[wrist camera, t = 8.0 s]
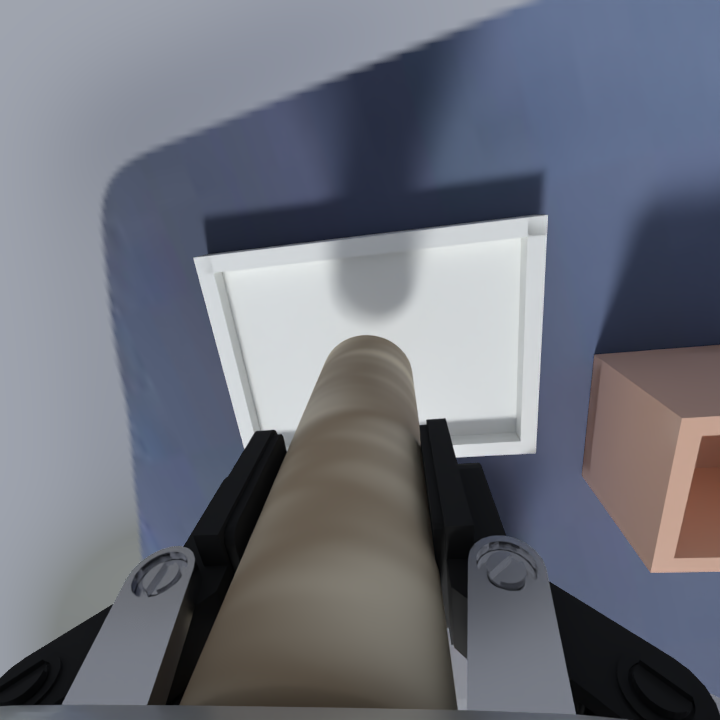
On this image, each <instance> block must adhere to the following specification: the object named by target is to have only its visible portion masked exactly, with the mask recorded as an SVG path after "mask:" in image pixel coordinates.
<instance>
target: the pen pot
mask: <svg viewBox="0 0 720 720" xmlns="http://www.w3.org/2000/svg"><path fill="white" fill-rule="evenodd" d="M582 476H583V478H584V479H585V481H586V482H587V483H588V485H589V486H590V488H591V489H592V491H593V492H594V493H595V495H596V496H597V498H598V499H599V500H600V502H601V503H602V505H603V506H604V508H605V509H606V510H607V512H608V513H609V515H610V516H611V517H612V519H613V520H614V522H615V523H616V525H617V526H618V527H619V529H620V530H621V532H622V533H623V534H624V536H625V537H626V539H627V540H628V541H629V543H630V544H631V546H632V547H633V549H634V550H635V551H636V553H637V554H638V556H639V557H640V558H641V560H642V561H643V563H644V564H645V566H646V567H647V568H648V570H649V571H650V573H661V572H720V345H710V346H697V347H685V348H672V349H659V350H647V351H634V352H621V353H609V354H596V355H594V363H593V373H592V383H591V392H590V402H589V411H588V421H587V431H586V440H585V450H584V459H583V469H582Z"/></svg>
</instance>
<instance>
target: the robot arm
mask: <svg viewBox="0 0 720 720" xmlns="http://www.w3.org/2000/svg"><path fill="white" fill-rule="evenodd" d="M419 428H420V442H421V452H422V460H423V468H424V475H425V483H426V491H427V499H428V506H429V514H430V522H431V530H432V538H433V545H434V553H435V561H436V564H437V567H438V569H439V574H440V581H441V588H442V595H443V603H444V610H445V617H446V625H447V628H449V633H450V640H451V645H454V648H455V649H456V650H457V651H458V652H459V653H461V654H462V655H463V656H464V657H465V658H466V659H467V710H429V709H381V708H329V707H265V706H191V705H180V702H181V700H182V698H183V695H184V693H185V690H186V688H187V686H188V683H189V681H190V679H191V676H192V674H193V672H194V669H195V667H196V665H197V662H198V660H199V658H200V655H201V653H202V650H203V648H204V646H205V643H206V641H207V639H208V636H209V634H210V632H211V629H212V627H213V625H214V622H215V620H216V618H217V615H218V613H219V610H220V608H221V606H222V603H223V601H224V599H225V596H226V594H227V592H228V589H229V587H230V585H231V582H232V580H233V578H234V575H235V573H236V570H237V568H238V566H239V563H240V561H241V559H242V556H243V554H244V552H245V549H246V547H247V545H248V542H249V540H250V538H251V535H252V533H253V530H254V528H255V526H256V523H257V521H258V519H259V516H260V514H261V512H262V509H263V507H264V505H265V502H266V500H267V498H268V495H269V493H270V490H271V488H272V486H273V483H274V481H275V479H276V476H277V474H278V472H279V469H280V467H281V465H282V462H283V460H284V458H285V455H286V453H287V450H286V446H285V441H284V437H283V435H282V434H277V432H276V430H263V431H256V432H255V433H254V434H253V436H252V438H251V439H250V441H249V443H248V444H247V446H246V448H245V449H244V451H243V453H242V454H241V456H240V458H239V459H238V461H237V463H236V464H235V466H234V468H233V469H232V471H231V473H230V474H229V476H228V477H227V478H225V480H224V481H223V482H222V484H221V485H220V487H219V489H218V490H217V492H216V494H215V495H214V497H213V499H212V500H211V502H210V504H209V505H208V507H207V509H206V510H205V512H204V514H203V515H202V517H201V518H200V520H199V522H198V523H197V525H196V527H195V528H194V530H193V532H192V533H191V535H190V537H189V538H188V540H187V542H186V543H185V545H184V547H182V546H174V547H169V548H165V549H162V550H159V551H157V552H155V553H153V554H151V555H150V556H148V557H147V558H145V559H144V560H143V561H141V562H140V563H139V564H138V565H137V566H136V567H135V568H134V569H133V570H132V571H131V573H130V574H129V576H128V577H127V579H126V581H125V582H124V585H123V586H122V588H121V590H120V592H119V594H118V596H117V598H116V600H115V602H114V604H112V605H111V606H109V607H107V608H106V609H104V610H102V611H101V612H99V613H98V614H96V615H94V616H93V617H91V618H89V619H88V620H86V621H85V622H83V623H81V624H80V625H78V626H76V627H75V628H73V629H71V630H70V631H68V632H67V633H65V634H63V635H62V636H60V637H58V638H57V639H55V640H54V641H52V642H50V643H49V644H47V645H45V646H44V647H42V648H41V649H39V650H37V651H36V652H34V653H32V654H31V655H29V656H28V657H26V658H24V659H23V660H22V661H20V662H19V663H17V664H16V665H15V666H13V667H12V668H11V669H10V670H8V671H7V672H6V673H5V674H4V675H3V676H2V677H1V678H0V720H720V698H718V697H716V696H714V695H712V694H710V693H709V692H708V690H707V689H706V687H705V686H704V685H703V684H702V683H701V682H700V681H699V679H698V678H697V677H696V676H695V675H694V674H693V673H692V672H691V671H690V670H689V669H687V668H686V667H685V666H683V665H682V664H681V663H679V662H678V661H676V660H675V659H674V658H672V657H671V656H669V655H667V654H666V653H664V652H663V651H661V650H659V649H658V648H656V647H655V646H653V645H651V644H650V643H648V642H646V641H645V640H643V639H642V638H640V637H638V636H637V635H635V634H633V633H632V632H630V631H629V630H627V629H625V628H624V627H622V626H620V625H619V624H617V623H616V622H614V621H612V620H611V619H609V618H608V617H606V616H604V615H603V614H601V613H599V612H598V611H596V610H595V609H593V608H591V607H590V606H588V605H586V604H585V603H583V602H582V601H580V600H578V599H577V598H575V597H574V596H572V595H570V594H569V593H567V592H565V591H564V590H562V589H561V588H559V587H557V586H556V585H554V584H552V583H551V582H549V579H548V574H547V570H546V567H545V564H544V562H543V559H542V558H541V557H540V556H539V554H538V553H537V552H536V551H535V550H534V549H533V548H532V547H530V546H529V545H528V544H526V543H524V542H522V541H520V540H518V539H516V538H512V537H508V536H506V534H505V532H504V529H503V526H502V523H501V520H500V517H499V515H498V512H497V509H496V506H495V503H494V500H493V498H492V495H491V492H490V489H489V486H488V483H487V480H486V478H485V475H484V472H483V469H482V467H481V464H480V463H466V464H458V463H457V460H456V456H455V452H454V448H453V444H452V441H451V437H450V433H449V429H448V425H447V421H446V418H441V419H426V425H419Z"/></svg>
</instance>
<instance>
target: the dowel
mask: <svg viewBox="0 0 720 720" xmlns="http://www.w3.org/2000/svg"><path fill="white" fill-rule="evenodd" d="M180 705H191V706H265V707H329V708H381V709H429V710H458V706H457V699H456V691H455V684H454V677H453V669H452V662H451V654H450V647H449V640H448V632H447V625H446V617H445V610H444V603H443V595H442V588H441V581H440V574H439V569H438V567H437V564H436V561H435V553H434V545H433V538H432V530H431V522H430V514H429V506H428V499H427V491H426V483H425V475H424V468H423V460H422V452H421V442H420V428H419V418H418V411H417V403H416V396H415V389H414V381H413V374H412V368H411V365H410V362H409V360H408V358H407V356H406V355H405V353H404V352H403V351H402V350H401V349H400V348H399V347H398V346H397V345H395V344H394V343H393V342H391V341H389V340H387V339H385V338H382V337H378V336H373V335H360V336H355V337H351V338H349V339H347V340H344V341H343V342H341V343H340V344H338V345H337V346H336V347H335V348H334V349H333V350H332V351H331V352H330V354H329V355H328V357H327V359H326V361H325V363H324V366H323V368H322V370H321V373H320V375H319V378H318V380H317V382H316V385H315V387H314V389H313V392H312V394H311V396H310V399H309V401H308V403H307V406H306V408H305V410H304V413H303V415H302V418H301V420H300V422H299V425H298V427H297V429H296V432H295V434H294V436H293V439H292V441H291V443H290V446H289V448H288V450H287V453H286V455H285V458H284V460H283V462H282V465H281V467H280V469H279V472H278V474H277V476H276V479H275V481H274V483H273V486H272V488H271V490H270V493H269V495H268V498H267V500H266V502H265V505H264V507H263V509H262V512H261V514H260V516H259V519H258V521H257V523H256V526H255V528H254V530H253V533H252V535H251V538H250V540H249V542H248V545H247V547H246V549H245V552H244V554H243V556H242V559H241V561H240V563H239V566H238V568H237V570H236V573H235V575H234V578H233V580H232V582H231V585H230V587H229V589H228V592H227V594H226V596H225V599H224V601H223V603H222V606H221V608H220V610H219V613H218V615H217V618H216V620H215V622H214V625H213V627H212V629H211V632H210V634H209V636H208V639H207V641H206V643H205V646H204V648H203V650H202V653H201V655H200V658H199V660H198V662H197V665H196V667H195V669H194V672H193V674H192V676H191V679H190V681H189V683H188V686H187V688H186V690H185V693H184V695H183V698H182V700H181V702H180Z"/></svg>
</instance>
